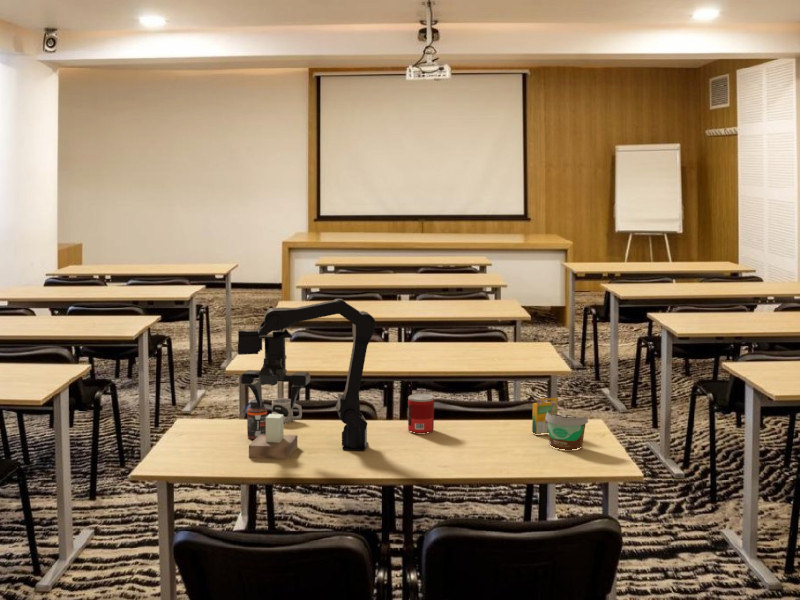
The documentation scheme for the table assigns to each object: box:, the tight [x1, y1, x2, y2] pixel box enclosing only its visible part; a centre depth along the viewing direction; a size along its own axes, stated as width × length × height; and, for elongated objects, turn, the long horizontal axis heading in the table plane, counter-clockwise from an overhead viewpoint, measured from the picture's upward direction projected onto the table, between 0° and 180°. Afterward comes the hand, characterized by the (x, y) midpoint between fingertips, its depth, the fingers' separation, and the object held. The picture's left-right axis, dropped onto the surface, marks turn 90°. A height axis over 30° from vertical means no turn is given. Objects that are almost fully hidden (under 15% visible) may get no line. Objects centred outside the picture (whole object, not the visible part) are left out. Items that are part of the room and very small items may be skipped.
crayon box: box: [531, 397, 559, 434], centre depth 240 cm, size 7×3×12 cm, turn 108°
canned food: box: [407, 393, 435, 433], centre depth 242 cm, size 8×8×11 cm
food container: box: [545, 411, 589, 450], centre depth 226 cm, size 12×6×10 cm, turn 70°
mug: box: [271, 398, 303, 425], centre depth 253 cm, size 10×7×7 cm, turn 77°
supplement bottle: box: [246, 398, 268, 440], centre depth 235 cm, size 6×6×11 cm
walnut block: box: [248, 434, 298, 461], centre depth 222 cm, size 11×11×4 cm
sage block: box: [266, 413, 284, 443], centre depth 221 cm, size 4×4×7 cm
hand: (276, 407), depth 221 cm, fingers open, 9 cm apart
